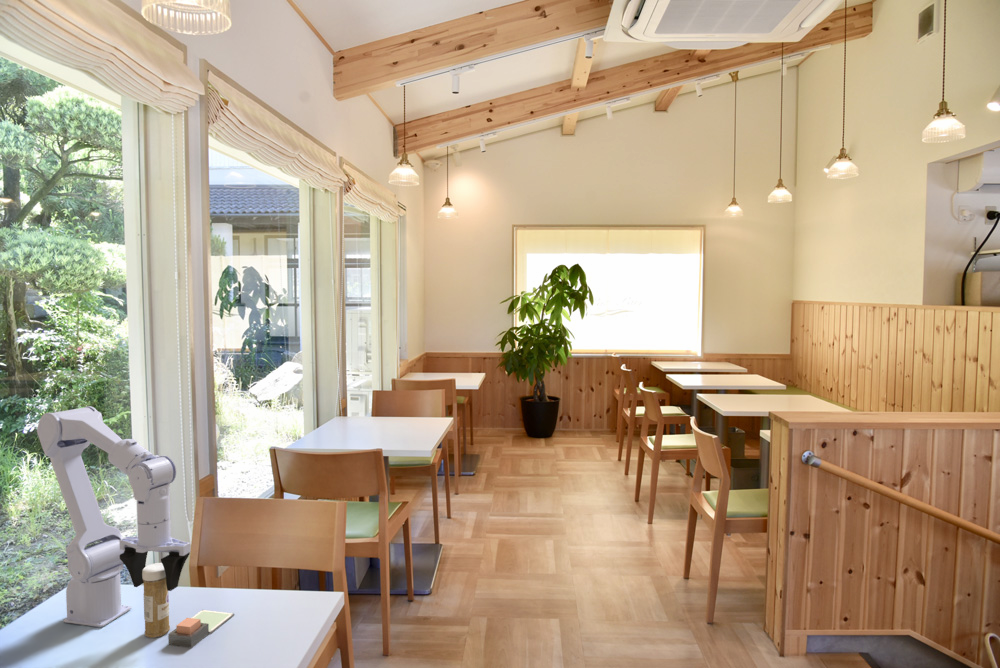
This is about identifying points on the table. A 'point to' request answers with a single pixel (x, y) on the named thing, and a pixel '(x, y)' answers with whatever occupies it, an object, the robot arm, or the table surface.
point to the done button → (188, 626)
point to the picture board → (213, 618)
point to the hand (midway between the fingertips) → (155, 586)
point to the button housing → (188, 637)
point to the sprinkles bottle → (155, 600)
